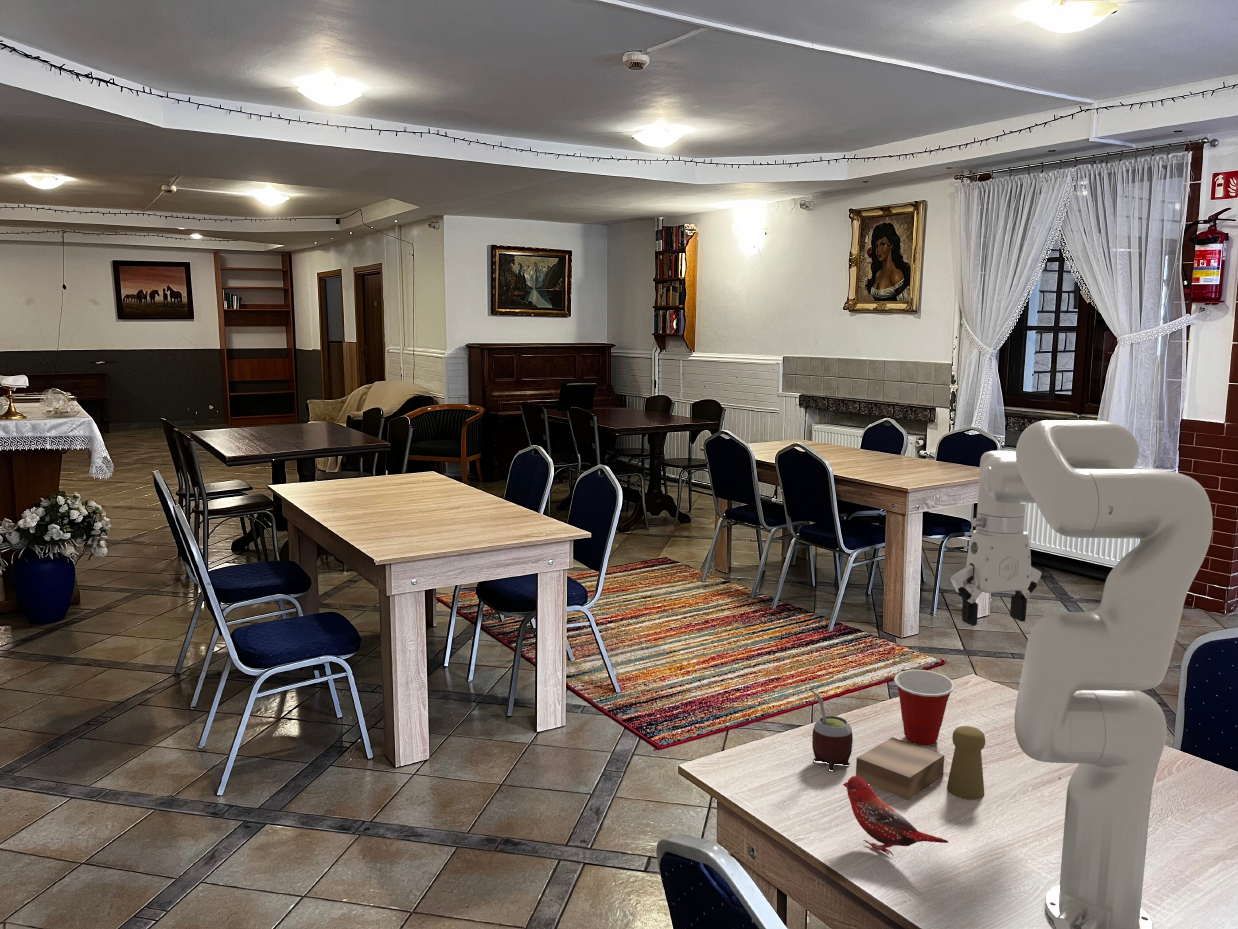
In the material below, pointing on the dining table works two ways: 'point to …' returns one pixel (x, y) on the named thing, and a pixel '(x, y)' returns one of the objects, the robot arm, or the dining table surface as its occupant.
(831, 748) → the mate gourd
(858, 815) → the decorative bird figurine
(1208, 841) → the dining table surface
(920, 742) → the plastic cup
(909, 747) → the walnut plinth
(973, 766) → the olive pawn figure
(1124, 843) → the robot arm
